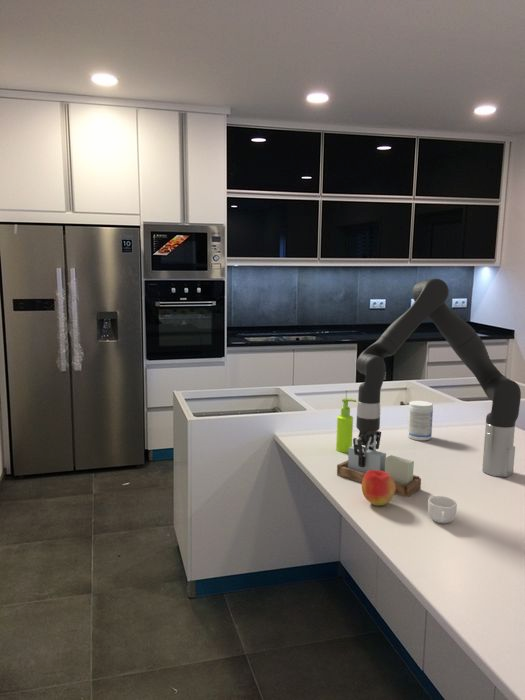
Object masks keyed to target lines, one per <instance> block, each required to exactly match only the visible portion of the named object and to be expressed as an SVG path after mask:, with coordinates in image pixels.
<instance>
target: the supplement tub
mask: <svg viewBox="0 0 525 700" xmlns="http://www.w3.org/2000/svg"><path fill="white" fill-rule="evenodd" d="M433 413H434V407H433V403H432V402H429V401H425V400H411V401H409V405H408V415H407V416H408V417H407V418H408V420H407V437H408V438H409V439H411V440H414V441H419V442H420V441H429V440H431V439H432V435H433V432H432V431H433Z"/></svg>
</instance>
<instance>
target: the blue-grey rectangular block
mask: <svg viewBox="0 0 525 700" xmlns="http://www.w3.org/2000/svg"><path fill="white" fill-rule="evenodd" d="M357 451H358V449H357ZM362 451H364V449H362ZM365 457H366V459H365V467H363V468H362V467H359V466H358V458H359V456H358V455H355V454H354V445H352V447H349V452H348V457H347V458H348V459H347V460H348V468H350V469H353V470H356V471H360V472H363V473H366V472H368V471H369V470H378V471H384V472H385V458H386V457H387V453H386V452H382V451H378V450H376V451H374V450H370V449H368V450H367V451H366V456H365Z"/></svg>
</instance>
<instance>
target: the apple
mask: <svg viewBox="0 0 525 700" xmlns="http://www.w3.org/2000/svg"><path fill="white" fill-rule="evenodd" d="M395 490H396V486H395V483H394V480H393V479H392V477H391V476H390V475H389V474H388V473H386V472H384V471H378V470H369V471H368V472H366V474H365V475H364V477H363V481H362V483H361V491H362V494H363V497H364V498H365V499H366V500H367V501H368V502H369V503H370V504H371V505H373V506H378V507H379V506H385V505H387V504H389V503H390V501H392V499H393V498H394V495H395V494H396V493H395Z"/></svg>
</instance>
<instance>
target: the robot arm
mask: <svg viewBox="0 0 525 700" xmlns="http://www.w3.org/2000/svg"><path fill="white" fill-rule="evenodd" d="M449 292H450V290H449V287H448V284H447V283H446V282H445V281H444V280H442V279H440V278H429V279H425V280H421V281H419V282H417V283H416V284H415V285H414V286H413V288H412V299H413V300H414V303H412V305H411V306H410V307H409V308H408V309H407V310H406V311H405V312H404V313H403V314H402V315H400V316H399V317H398V318H397V319H395V320H394V321H393V323H391V324H390V325H389V326H388V327H387V328H386V329H385V330H384V332H383V333H382V334H381V335H380V337H379V338H378V339H377V340H376V341H375V342H374V343H372V344H371V345H369V346H368V347H367V348H366V349H365V350H363V351H362V352H361V353H360V354H359V356H358V357H357V360H356V364H355V366H356V367H355V368H356V370H357V372H358V373H360V374H362V375H364V376H365V379H364V382H362V383H360V385H359V386H358V396H357V397H358V399H357V400H358V401H357V405H356V406H357V408H356V425H355V426H356V427H355V428H356V429H357V430H358V431H359V433H358V437H357V438H356V437H354V438H352V446H354V454H355V455H358V456H359V458H358V466H359V467H362V468H363V467H365V459H366V457H365V456H366V451H367V450H368V449H370V450H374V451H377V450H379V448H380V441H381V437H382V431H379V430H380V429H381V428H380V427H381V425H380V424H381V389H382V388H383V387H382V386H383V383H384V379H385V376H386V372H387V371H386V370H387V369H386V368H387V366H386V363H385V360H384V359H385V358H387V357H392V356H394V355H395V354H396V353H397V352H398V350H399V349H400V348H401V347H402V346H403V344H404V343H405V342H406V340H408V338H409V337H410V336H411V335H412V334H413V333H414V331H416V330H417V328H418V327H419V326H420V325H421V324H422V323H423V322H424V321H425V320H426V319H427V318H429V319H430V320H431V321H432V323H433V324H434V325H435V327H436V328H437V330H438V331H439V332H440V334H441V335H442V337H444V339H445V340H446V341H447V343H448V345H449V346H450V348H451V349H452V350H453V351H454V353H455V354H456V355H457V356H458V358H459V359H460V360H461V362H462V363H463V364H464V365H465V366H466V368H467V369H469V370H470V371H471V373H472V374H473V375H474V377H475V378H476V380H477V381H478V383H479V385H480V387H481V389H482V390H483V391H484V394H485V395H486V397H487V398H488V399H489V400H490V401H491V402H492V403H491V411H490V412H489V413H487V414H486V417H485V428H484V441H483V442H484V443H483V455H482V469H481V470H482V472H483V473H485V474H487V475H490V476H494V477H500V478H501V477H502V478H509V477H510V476H511V475H512V474H514V466H515V456H516V455H515V454H516V446H514V442H515V431H516V430H515V429H516V422H517V420H518V418H519V414H520V408H521V407H520V406H521V399H522V392H521V387H520V385H519V384H518V383H517V382H515V381H514V380H512V379H510V378H508V377H506V376H504V375H503V373H501V372H500V370H499V369H498V368H497V367H496V366H495V364H494V363H493V362H492V360H491V358H490V355H489V353H488V349H487V347H486V345H485V343H484V342H483V340H482V338H481V337H480V336H479V334H478V333H477V332H476V330H475V329H474V328H473V327H472V326H471V324H469V323H467V322H466V321H465V320H464V319H462V318H461V317H460V316H459V315H457V314H456V313H454V312H453V310H451V309H450V308H449V306H448V305H447V304H446V303H445V302H446V301H447V299H448V297H449ZM357 449H358V451H357ZM362 449H364V451H362Z"/></svg>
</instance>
